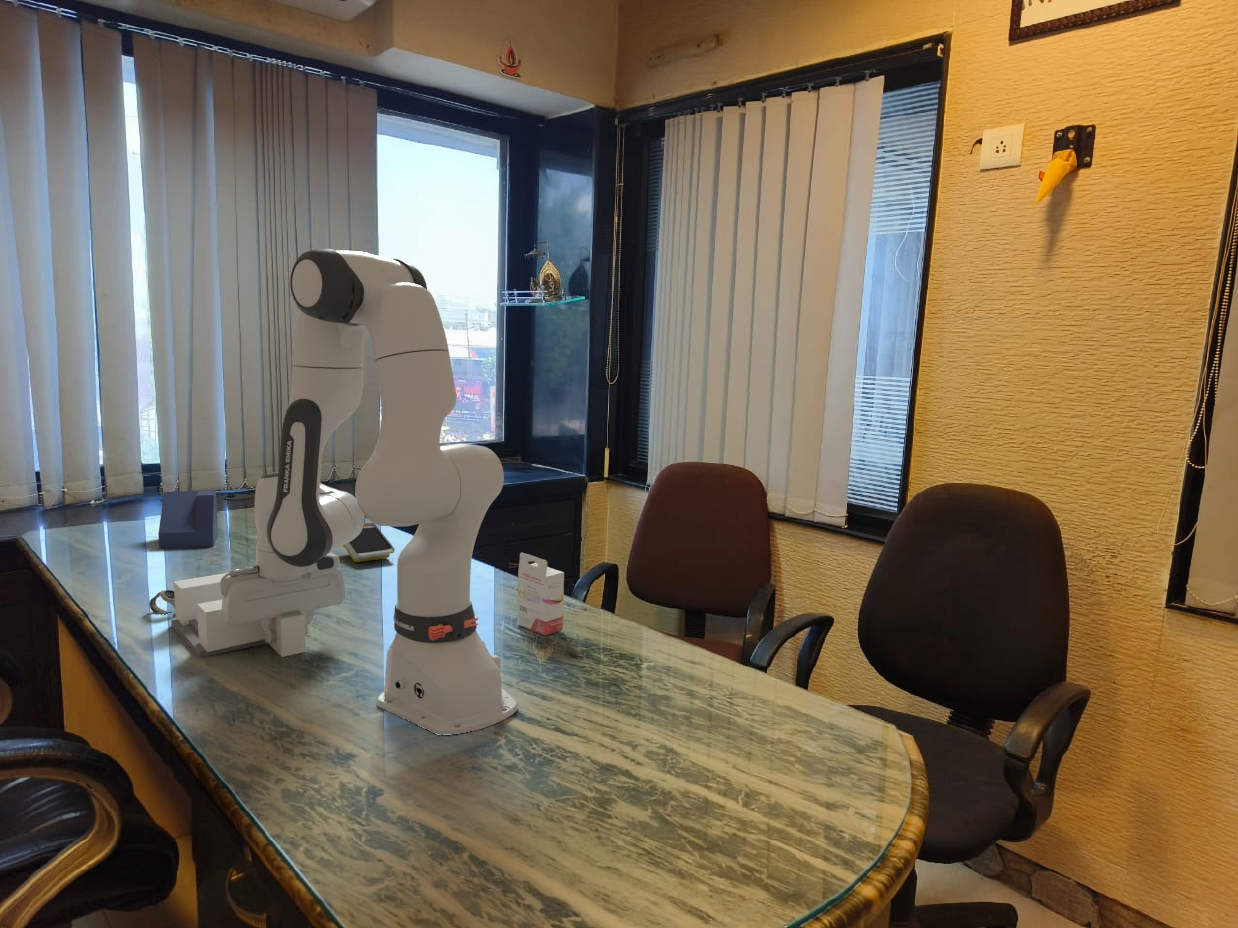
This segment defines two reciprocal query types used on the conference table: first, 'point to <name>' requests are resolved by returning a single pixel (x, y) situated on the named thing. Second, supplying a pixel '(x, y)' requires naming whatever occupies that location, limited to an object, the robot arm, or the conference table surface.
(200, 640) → the rail base
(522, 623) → the ink cartridge box
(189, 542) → the phone stand
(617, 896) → the conference table surface
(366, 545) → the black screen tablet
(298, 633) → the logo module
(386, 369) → the robot arm
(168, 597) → the wristwatch
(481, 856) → the conference table surface
